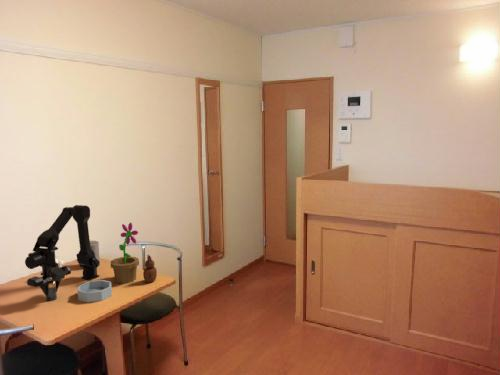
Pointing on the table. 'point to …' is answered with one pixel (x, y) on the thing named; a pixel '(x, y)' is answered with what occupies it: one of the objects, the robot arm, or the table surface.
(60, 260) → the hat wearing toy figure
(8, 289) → the table surface
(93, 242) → the pillar candle
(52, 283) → the battery cell
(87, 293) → the ceramic bowl
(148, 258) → the wooden figurine
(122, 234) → the flowerpot
